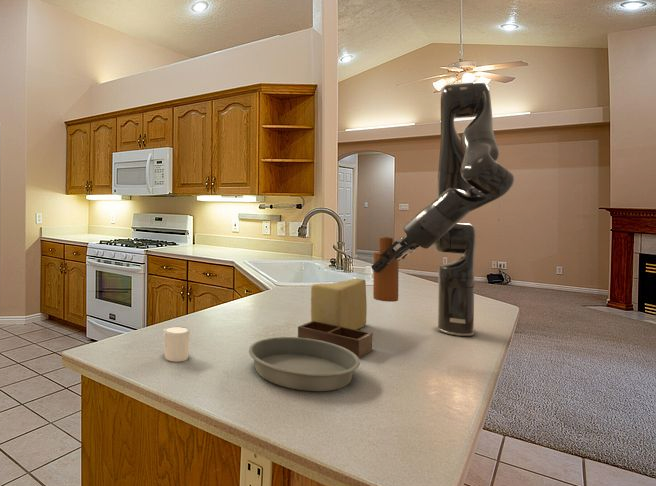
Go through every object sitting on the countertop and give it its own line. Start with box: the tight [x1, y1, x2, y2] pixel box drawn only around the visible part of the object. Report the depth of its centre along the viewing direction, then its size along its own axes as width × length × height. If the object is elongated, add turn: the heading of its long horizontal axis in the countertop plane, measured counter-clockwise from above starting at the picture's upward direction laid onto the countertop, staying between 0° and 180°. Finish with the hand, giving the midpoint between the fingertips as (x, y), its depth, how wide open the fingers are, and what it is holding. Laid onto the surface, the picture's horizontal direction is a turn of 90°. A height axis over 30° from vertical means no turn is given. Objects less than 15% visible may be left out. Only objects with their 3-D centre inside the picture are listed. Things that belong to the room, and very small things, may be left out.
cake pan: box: [248, 336, 361, 392], centre depth 103 cm, size 25×25×4 cm
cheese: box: [310, 278, 368, 330], centre depth 137 cm, size 22×10×15 cm, turn 128°
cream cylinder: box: [162, 325, 191, 363], centre depth 112 cm, size 7×7×7 cm
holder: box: [297, 321, 373, 359], centre depth 122 cm, size 9×17×5 cm, turn 46°
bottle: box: [372, 236, 400, 303], centre depth 116 cm, size 6×6×16 cm
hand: (378, 268), depth 117 cm, fingers closed on bottle, 6 cm apart
